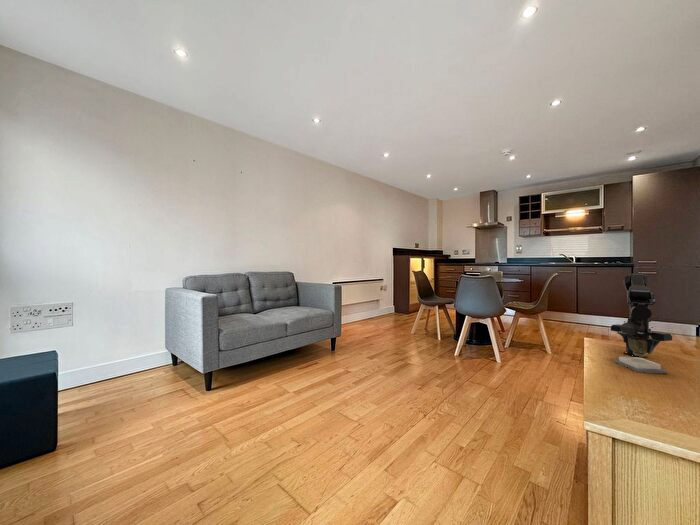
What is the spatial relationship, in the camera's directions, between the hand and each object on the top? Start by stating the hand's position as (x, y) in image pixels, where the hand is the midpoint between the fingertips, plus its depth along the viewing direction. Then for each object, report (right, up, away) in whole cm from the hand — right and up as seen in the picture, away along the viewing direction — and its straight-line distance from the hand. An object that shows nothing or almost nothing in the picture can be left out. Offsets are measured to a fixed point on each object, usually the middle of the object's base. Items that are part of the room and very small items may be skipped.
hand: (639, 351), depth 121 cm
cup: (0, -2, 0) cm, 2 cm away
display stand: (0, -7, 0) cm, 7 cm away
